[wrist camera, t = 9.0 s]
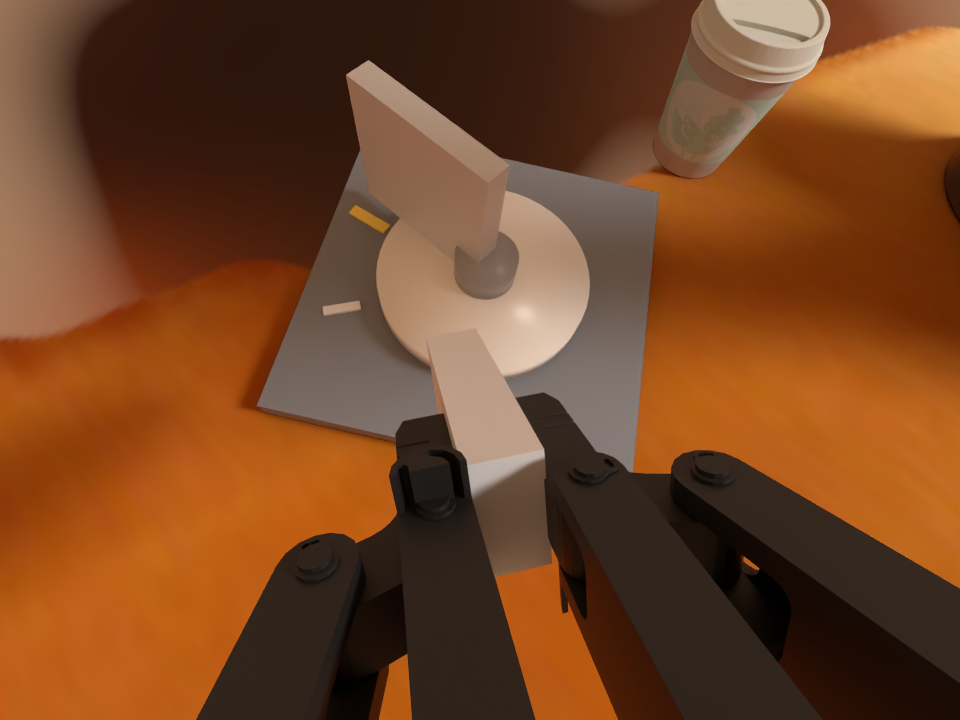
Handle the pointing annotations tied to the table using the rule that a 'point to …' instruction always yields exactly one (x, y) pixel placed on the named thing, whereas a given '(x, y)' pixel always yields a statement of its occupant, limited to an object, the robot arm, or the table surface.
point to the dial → (462, 236)
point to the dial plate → (408, 382)
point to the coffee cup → (735, 76)
